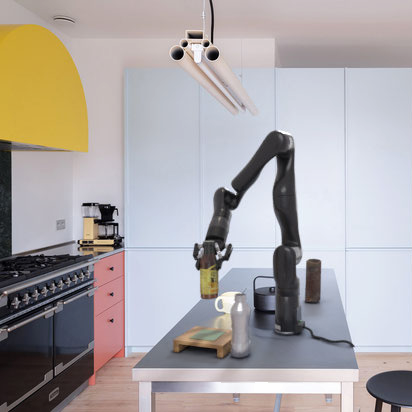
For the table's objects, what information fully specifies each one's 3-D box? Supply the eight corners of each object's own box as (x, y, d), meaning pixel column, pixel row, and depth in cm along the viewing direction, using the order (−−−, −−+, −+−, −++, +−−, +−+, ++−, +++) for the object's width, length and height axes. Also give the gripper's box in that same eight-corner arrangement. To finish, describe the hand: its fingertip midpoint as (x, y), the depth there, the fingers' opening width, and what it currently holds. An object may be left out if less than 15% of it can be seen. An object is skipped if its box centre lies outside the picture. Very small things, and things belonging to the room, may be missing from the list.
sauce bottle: (213, 300, 141) (212, 242, 140) (196, 299, 142) (195, 242, 141) (221, 295, 147) (220, 240, 146) (205, 294, 149) (204, 239, 148)
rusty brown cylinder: (321, 300, 199) (322, 258, 198) (320, 304, 192) (320, 261, 191) (306, 299, 201) (306, 258, 200) (303, 303, 193) (304, 261, 192)
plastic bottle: (230, 352, 137) (230, 292, 136) (251, 351, 137) (251, 291, 136) (228, 360, 130) (228, 297, 129) (250, 359, 131) (250, 297, 130)
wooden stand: (241, 342, 145) (241, 330, 145) (222, 358, 132) (222, 345, 132) (195, 336, 150) (195, 325, 150) (173, 351, 137) (173, 339, 137)
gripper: (196, 224, 152) (184, 262, 140) (234, 225, 150) (225, 263, 139) (201, 237, 157) (190, 275, 146) (239, 237, 156) (230, 275, 145)
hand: (207, 269), depth 143 cm, fingers closed on sauce bottle, 6 cm apart
